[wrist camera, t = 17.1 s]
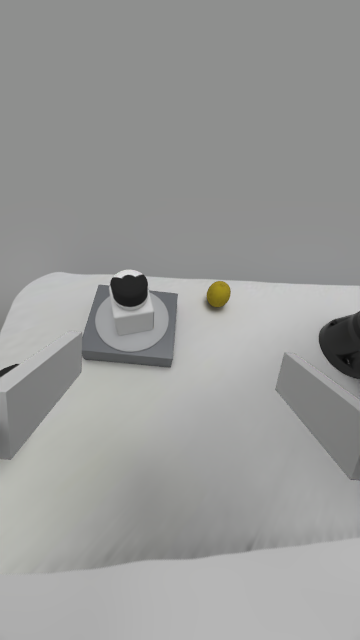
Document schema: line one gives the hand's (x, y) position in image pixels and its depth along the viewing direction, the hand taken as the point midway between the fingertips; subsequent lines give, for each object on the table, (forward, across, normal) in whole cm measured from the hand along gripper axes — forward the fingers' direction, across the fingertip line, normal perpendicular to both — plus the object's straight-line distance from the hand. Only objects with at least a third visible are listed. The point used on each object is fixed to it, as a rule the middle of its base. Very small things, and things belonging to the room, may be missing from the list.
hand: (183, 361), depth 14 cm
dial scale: (+36, -8, -10) cm, 38 cm away
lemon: (+44, +11, -3) cm, 45 cm away
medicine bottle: (+32, -8, -6) cm, 34 cm away
